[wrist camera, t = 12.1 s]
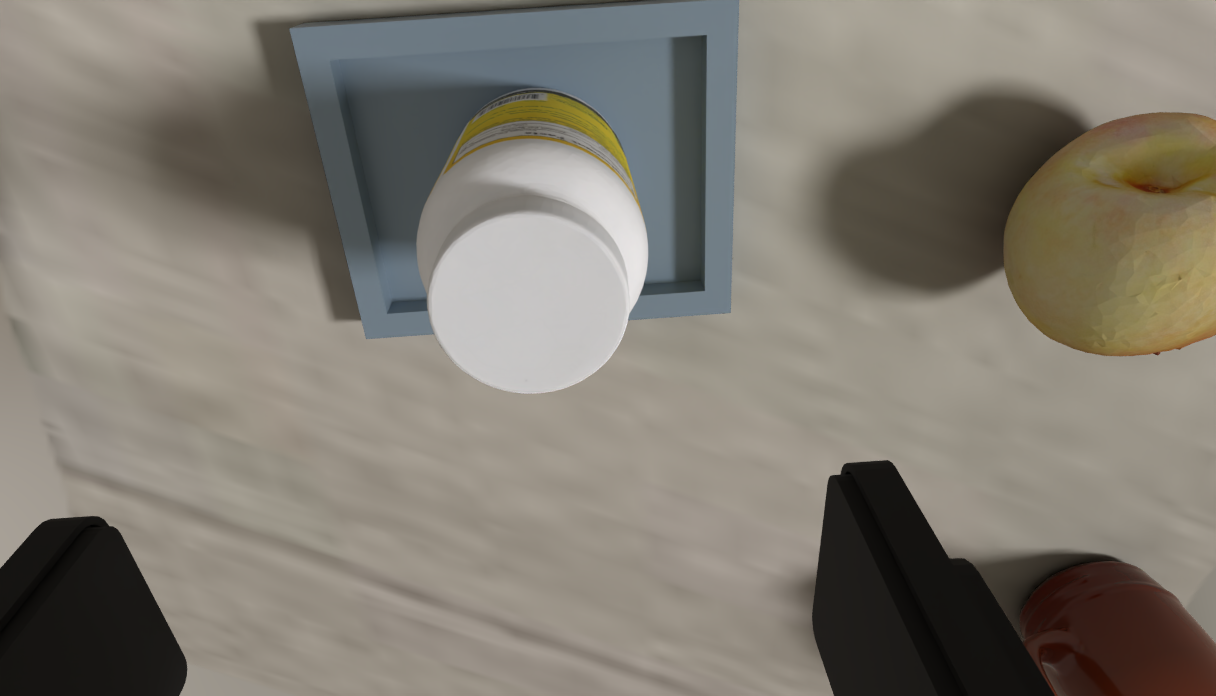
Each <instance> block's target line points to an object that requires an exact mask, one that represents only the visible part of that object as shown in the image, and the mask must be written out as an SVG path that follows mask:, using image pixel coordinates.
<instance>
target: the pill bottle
mask: <svg viewBox="0 0 1216 696" xmlns="http://www.w3.org/2000/svg"><path fill="white" fill-rule="evenodd" d="M416 246H417V262H418V268H419V273H420V277H421V280H422V283H423V285H424V288H425V291H426V293H427V309H428V315H429V320H430V324H431V327H432V330H433V333H434V335H435V337H436V339H437V341H438V343H439V344H440V346H441V348H442V349H443V350H444V352H445V353H446V355H447V356H448V357H449V358H450V359H451V360H452V361H453V362H454V363H455V364H456V365H457V366H458V367H459V368H460V369H461V370H463V371H464V372H465V373H467V374H468V375H470V376H471V377H473V378H475V379H476V380H478V381H480V382H482V383H484V384H486V385H488V386H491V387H494V388H497V389H500V390H505V391H509V392H515V393H523V394H532V393H545V392H551V391H556V390H560V389H563V388H566V387H569V386H571V385H574V384H576V383H578V382H580V381H582V380H584V379H585V378H587V377H588V376H590V375H591V374H593V373H594V372H596V371H597V370H598V369H599V368H600V367H601V366H603V365H604V364H605V363H606V361H607V360H608V359H609V358H610V357H611V355H612V354H613V353H614V351H615V350H616V348H617V347H618V345H619V343H620V341H621V339H622V337H623V335H624V332H625V329H626V326H627V322H628V318H629V313H630V312H631V310H632V309H633V307H634V305H635V304H636V302H637V300H638V298H639V295H640V293H641V290H642V288H643V285H644V281H645V277H646V272H647V266H648V239H647V231H646V227H645V222H644V219H643V215H642V211H641V208H640V204H639V201H638V198H637V194H636V190H635V187H634V183H633V180H632V177H631V173H630V170H629V167H628V163H627V160H626V156H625V153H624V151H623V148H622V146H621V143H620V141H619V139H618V137H617V135H616V134H615V132H614V131H613V129H612V128H611V126H610V125H609V123H608V122H607V121H606V120H605V118H604V117H603V116H602V115H601V114H600V113H599V112H598V111H597V110H595V109H594V108H593V107H592V106H590V105H589V104H587V103H586V102H585V101H583V100H581V99H579V98H577V97H575V96H573V95H571V94H568V93H565V92H562V91H558V90H554V89H548V88H527V89H521V90H516V91H513V92H509V93H507V94H504V95H502V96H500V97H498V98H496V99H494V100H492V101H491V102H489V103H488V104H486V105H485V106H484V107H482V108H481V109H480V110H479V111H478V112H477V113H476V114H475V115H474V116H473V117H472V118H471V120H470V121H469V122H468V123H467V125H466V126H465V128H464V130H463V131H462V133H461V134H460V135H459V138H458V140H457V141H456V144H455V146H454V148H453V150H452V152H451V154H450V156H449V158H448V160H447V162H446V164H445V166H444V168H443V170H442V172H441V174H440V175H439V177H438V179H437V181H436V183H435V185H434V187H433V189H432V191H431V193H430V195H429V197H428V199H427V201H426V203H425V205H424V208H423V211H422V214H421V218H420V222H419V227H418V232H417V242H416Z"/></svg>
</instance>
